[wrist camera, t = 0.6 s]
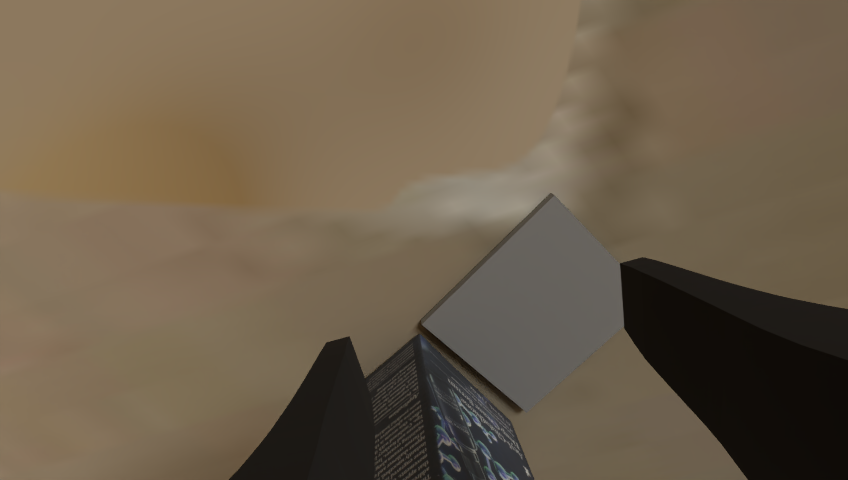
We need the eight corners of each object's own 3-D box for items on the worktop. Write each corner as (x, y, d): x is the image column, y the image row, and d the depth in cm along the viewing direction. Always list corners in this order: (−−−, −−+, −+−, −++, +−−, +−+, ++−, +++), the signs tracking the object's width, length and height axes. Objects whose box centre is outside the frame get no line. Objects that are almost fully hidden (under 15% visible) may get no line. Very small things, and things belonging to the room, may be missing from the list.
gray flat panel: (523, 406, 26) (526, 412, 25) (420, 320, 24) (421, 324, 23) (648, 295, 25) (653, 299, 24) (550, 193, 22) (554, 195, 22)
